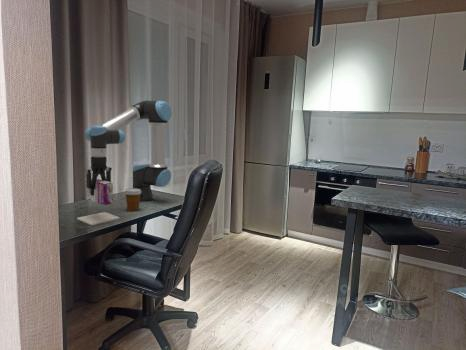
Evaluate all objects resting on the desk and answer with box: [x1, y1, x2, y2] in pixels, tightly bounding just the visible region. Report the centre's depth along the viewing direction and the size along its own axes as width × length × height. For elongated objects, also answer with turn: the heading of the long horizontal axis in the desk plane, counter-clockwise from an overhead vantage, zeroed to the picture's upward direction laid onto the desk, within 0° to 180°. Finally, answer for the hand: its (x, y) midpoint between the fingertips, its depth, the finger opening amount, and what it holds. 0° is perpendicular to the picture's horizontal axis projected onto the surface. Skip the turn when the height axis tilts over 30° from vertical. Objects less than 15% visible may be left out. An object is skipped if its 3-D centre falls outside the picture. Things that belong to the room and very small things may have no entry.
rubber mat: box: [76, 211, 120, 226], centre depth 176 cm, size 16×14×1 cm
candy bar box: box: [87, 178, 114, 206], centre depth 172 cm, size 11×5×16 cm
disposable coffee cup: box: [124, 187, 141, 212], centre depth 196 cm, size 10×10×12 cm
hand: (99, 200), depth 173 cm, fingers closed on candy bar box, 5 cm apart
